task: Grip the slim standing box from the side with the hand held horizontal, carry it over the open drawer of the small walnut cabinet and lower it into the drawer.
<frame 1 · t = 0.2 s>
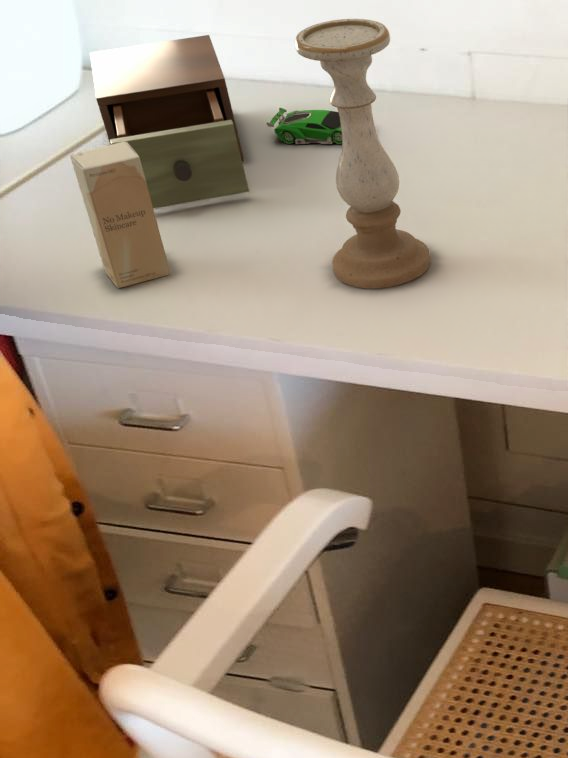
cabinet: (177, 146, 141), on the table
candle holder: (383, 268, 118), on the table
toy car: (321, 138, 141), on the table
drawer: (176, 145, 130), point 4 cm above the table, slide at 9.0 cm
box: (140, 274, 119), on the table
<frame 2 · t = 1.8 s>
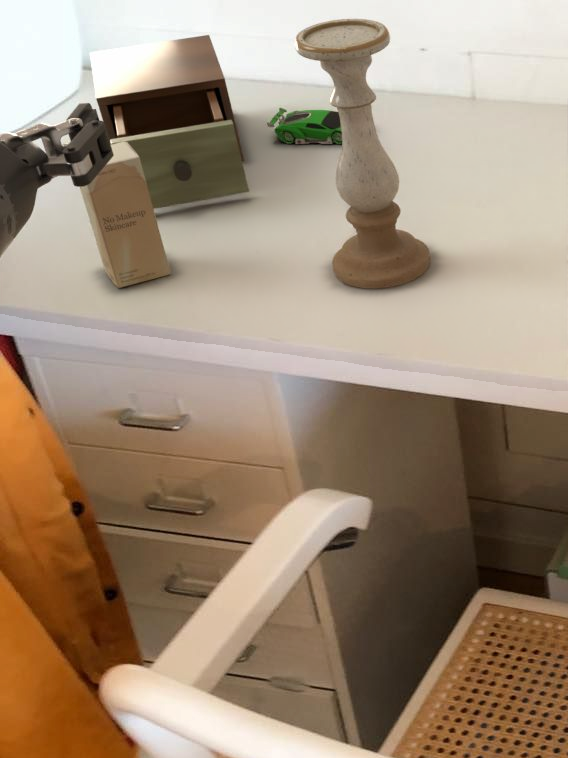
hand: (34, 118, 98), 18 cm above the table, tool horizontal, fingers open, 8 cm apart
nothing on the table moved.
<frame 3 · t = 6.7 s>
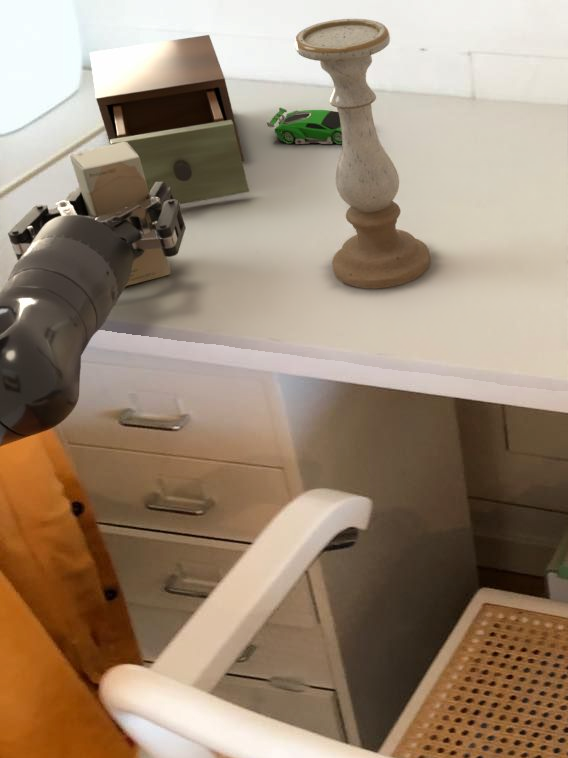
hand: (125, 193, 116), 6 cm above the table, tool horizontal, fingers closed on box, 6 cm apart
box: (140, 274, 119), on the table, touching gripper
everything else where it was.
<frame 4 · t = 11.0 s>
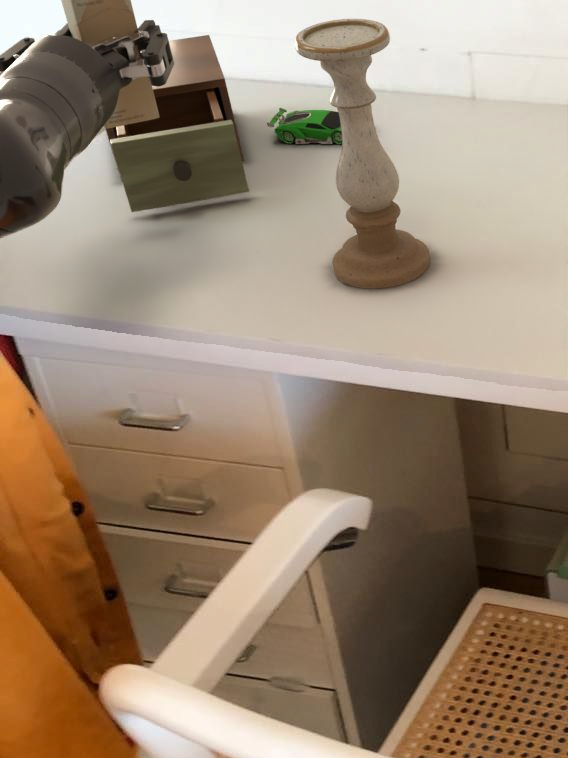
hand: (114, 33, 115), 18 cm above the table, tool horizontal, fingers closed on box, 6 cm apart
box: (128, 119, 117), point 11 cm above the table, touching gripper
everything else where it was.
when the fingers open (10 cm above the table, at t = 15.5 s): box drops 1 cm, resting on drawer.
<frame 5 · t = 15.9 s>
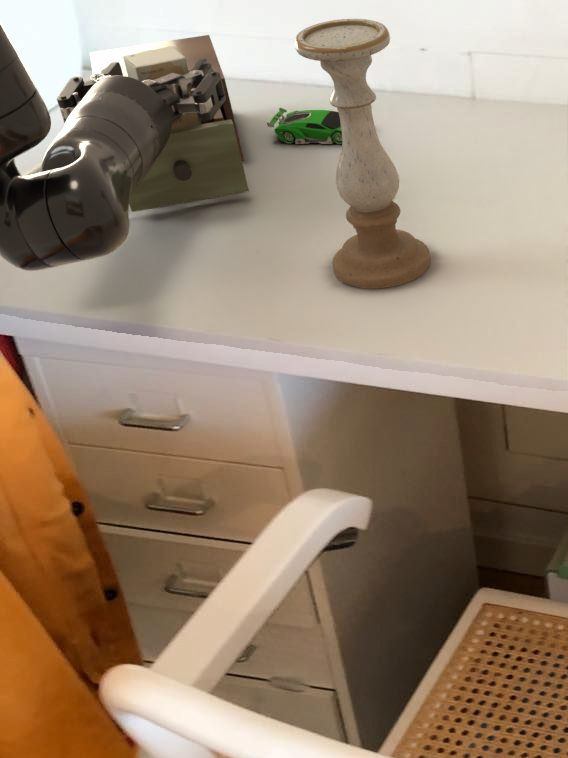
hand: (161, 70, 127), 11 cm above the table, tool horizontal, fingers open, 8 cm apart
drawer: (176, 145, 130), point 4 cm above the table, slide at 8.9 cm, touching box
box: (183, 170, 131), point 2 cm above the table, touching drawer
everything else where it was.
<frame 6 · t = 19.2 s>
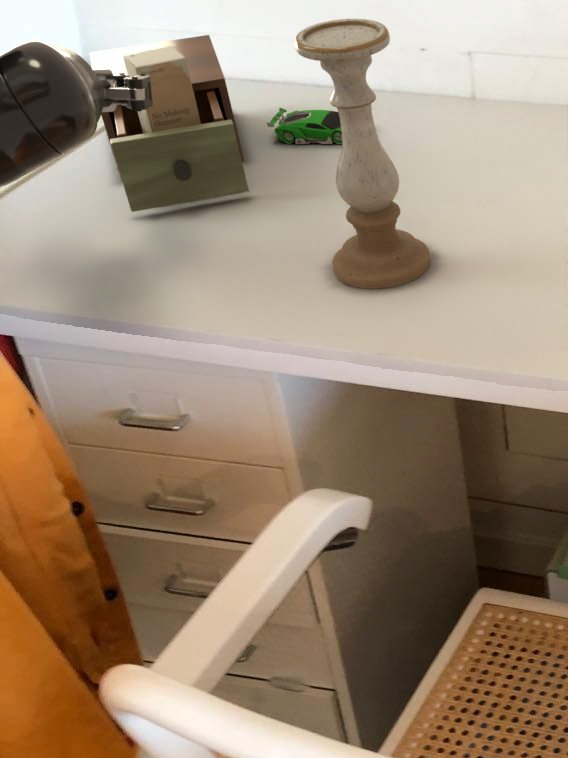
hand: (72, 84, 117), 14 cm above the table, tool horizontal, fingers open, 8 cm apart
nothing on the table moved.
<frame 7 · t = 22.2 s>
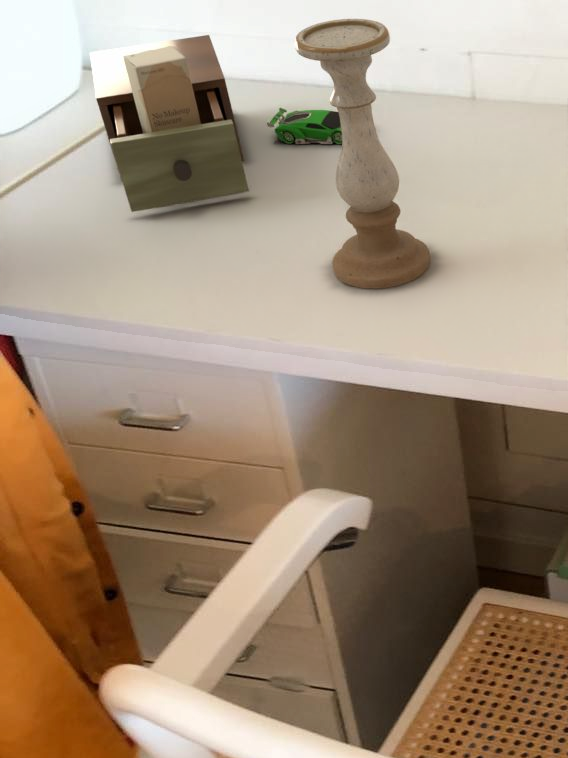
nothing on the table moved.
at the end: box inside the target area in the drawer (0.6 cm from its centre), point 1.8 cm above the cabinet's base; the gripper is holding nothing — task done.
